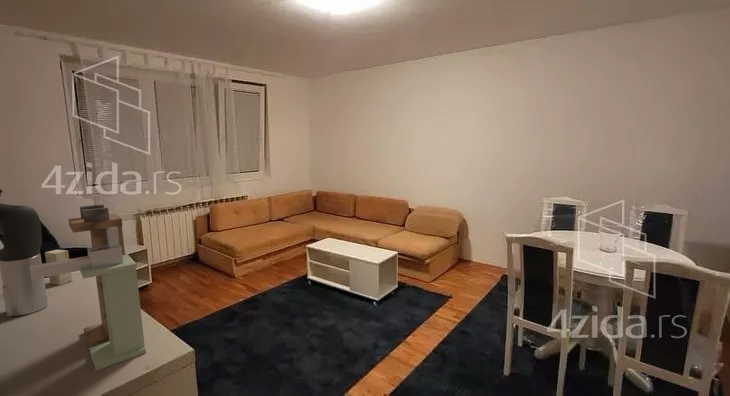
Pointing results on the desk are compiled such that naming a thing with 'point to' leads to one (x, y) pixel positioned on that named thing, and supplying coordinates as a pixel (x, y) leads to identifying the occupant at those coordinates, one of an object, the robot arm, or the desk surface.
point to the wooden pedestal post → (96, 223)
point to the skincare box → (53, 257)
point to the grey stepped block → (84, 259)
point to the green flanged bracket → (119, 313)
